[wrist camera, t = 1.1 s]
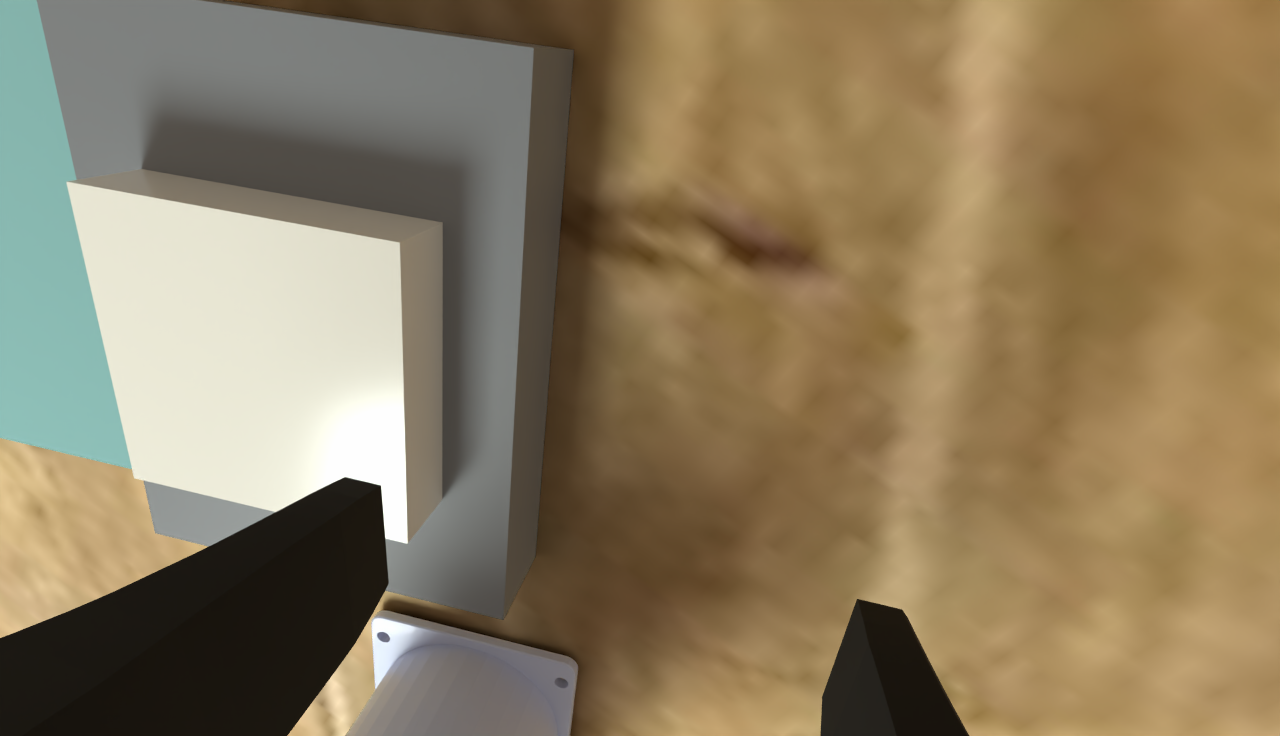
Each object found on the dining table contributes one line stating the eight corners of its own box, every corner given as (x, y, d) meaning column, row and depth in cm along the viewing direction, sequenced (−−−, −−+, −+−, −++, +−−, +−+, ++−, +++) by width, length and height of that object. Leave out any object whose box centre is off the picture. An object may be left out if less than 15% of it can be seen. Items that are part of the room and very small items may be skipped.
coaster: (442, 499, 20) (407, 543, 18) (191, 441, 21) (134, 477, 19) (442, 222, 16) (400, 242, 14) (141, 169, 17) (66, 181, 15)
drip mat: (210, 479, 25) (202, 485, 25) (-67, 414, 27) (-79, 419, 26) (125, -14, 18) (112, -16, 18) (-242, -66, 20) (-261, -68, 20)
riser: (535, 556, 24) (503, 619, 21) (222, 482, 25) (155, 533, 23) (574, 50, 17) (533, 48, 14) (141, -12, 18) (31, -24, 16)
